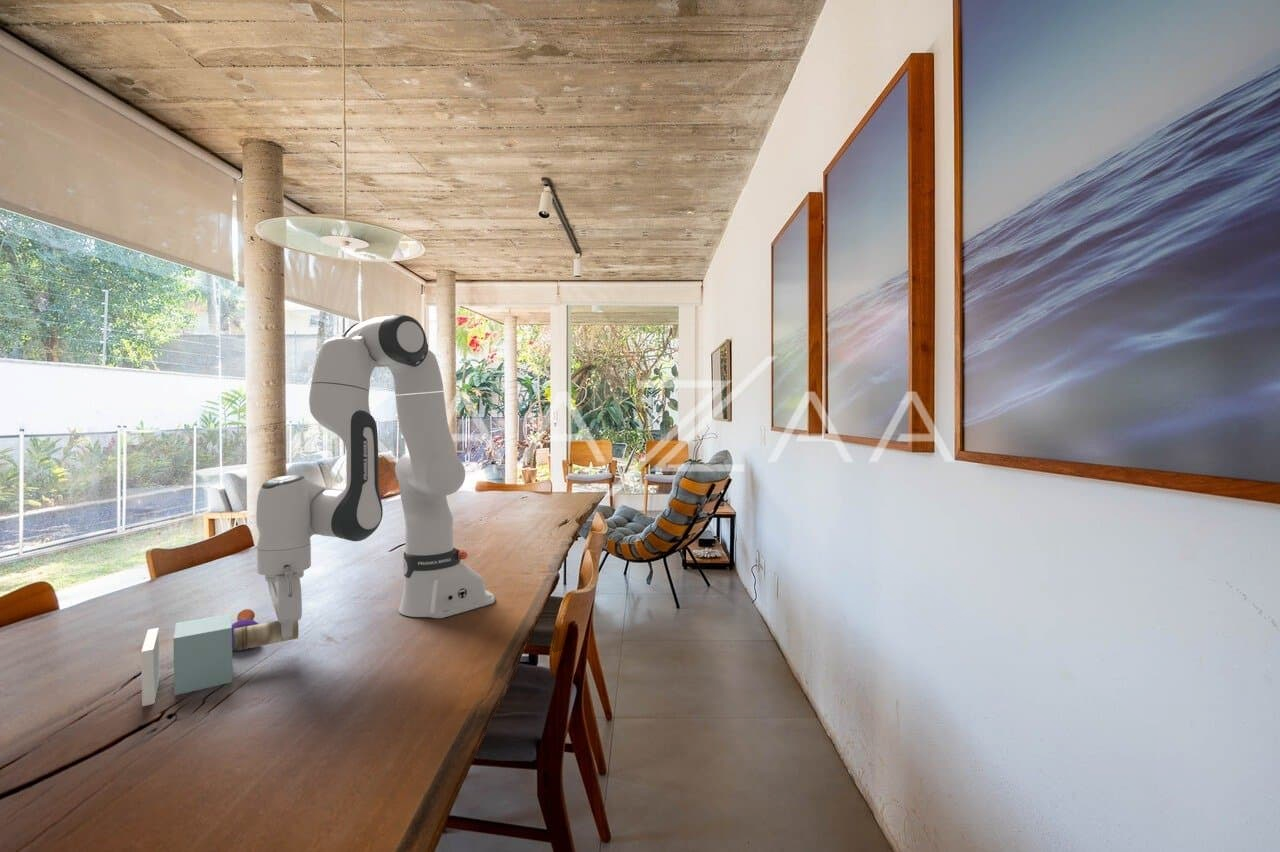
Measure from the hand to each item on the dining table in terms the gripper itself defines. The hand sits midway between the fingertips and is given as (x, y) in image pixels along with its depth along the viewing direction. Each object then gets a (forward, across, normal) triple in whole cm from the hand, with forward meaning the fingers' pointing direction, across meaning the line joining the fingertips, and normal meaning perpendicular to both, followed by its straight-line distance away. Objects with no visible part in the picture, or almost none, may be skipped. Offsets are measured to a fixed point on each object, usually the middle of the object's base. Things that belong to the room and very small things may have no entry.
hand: (285, 631), depth 109 cm
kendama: (+6, +20, +6) cm, 21 cm away
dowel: (+2, 0, +3) cm, 3 cm away
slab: (+6, 0, +20) cm, 21 cm away
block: (+6, 0, +12) cm, 14 cm away
